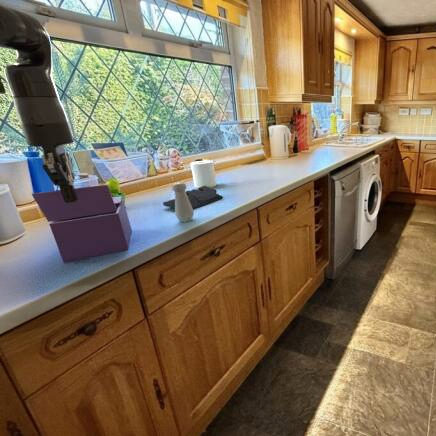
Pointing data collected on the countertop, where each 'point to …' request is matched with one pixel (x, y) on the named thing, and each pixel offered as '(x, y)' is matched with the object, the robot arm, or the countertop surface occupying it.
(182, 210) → the salt shaker
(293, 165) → the countertop surface
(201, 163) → the toilet paper
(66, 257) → the carton
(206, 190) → the dark slate chunk
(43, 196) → the flap
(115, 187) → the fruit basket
